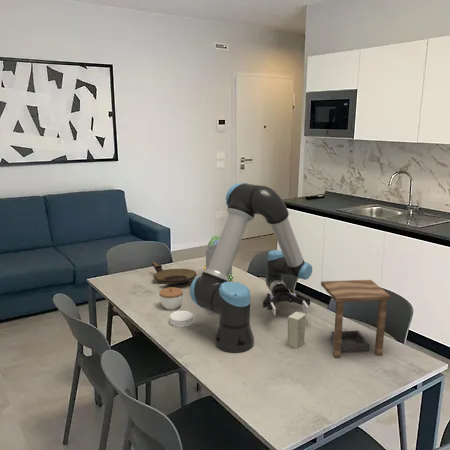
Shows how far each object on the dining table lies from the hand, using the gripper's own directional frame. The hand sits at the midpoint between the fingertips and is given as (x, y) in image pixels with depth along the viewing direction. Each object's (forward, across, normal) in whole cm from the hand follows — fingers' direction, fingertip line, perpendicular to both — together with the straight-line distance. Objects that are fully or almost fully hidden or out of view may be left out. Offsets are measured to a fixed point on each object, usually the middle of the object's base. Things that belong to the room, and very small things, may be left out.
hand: (291, 311), depth 182 cm
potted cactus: (-62, +24, -10) cm, 68 cm away
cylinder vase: (-40, +26, -10) cm, 49 cm away
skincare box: (+10, +1, -9) cm, 14 cm away
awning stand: (+13, -20, -9) cm, 25 cm away
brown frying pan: (-66, +48, -10) cm, 82 cm away
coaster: (-14, +44, -9) cm, 47 cm away
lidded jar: (-30, +49, -9) cm, 58 cm away
